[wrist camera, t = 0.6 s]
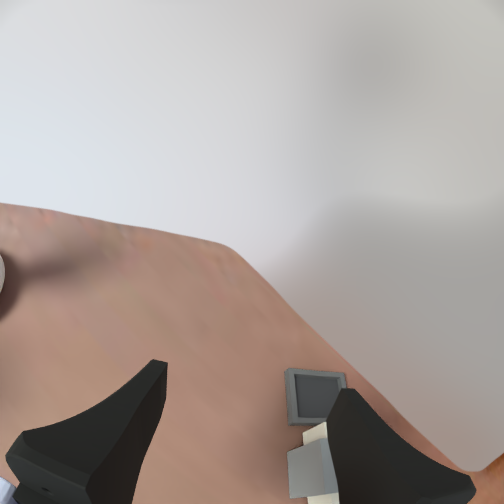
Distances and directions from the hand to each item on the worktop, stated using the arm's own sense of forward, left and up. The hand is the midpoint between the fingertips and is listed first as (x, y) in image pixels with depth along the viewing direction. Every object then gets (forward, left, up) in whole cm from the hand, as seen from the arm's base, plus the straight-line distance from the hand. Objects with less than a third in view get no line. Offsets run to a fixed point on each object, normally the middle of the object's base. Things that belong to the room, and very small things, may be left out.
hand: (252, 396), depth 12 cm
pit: (+7, -14, -17) cm, 23 cm away
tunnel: (-2, -14, -17) cm, 22 cm away
